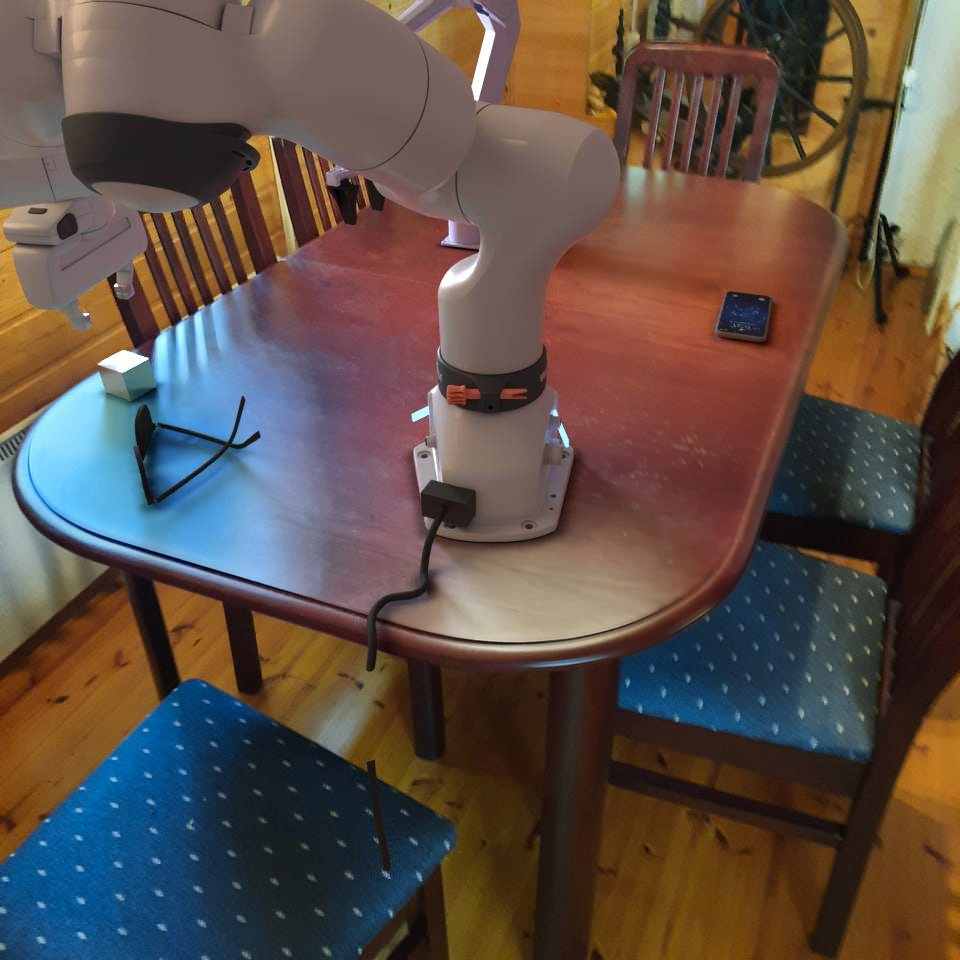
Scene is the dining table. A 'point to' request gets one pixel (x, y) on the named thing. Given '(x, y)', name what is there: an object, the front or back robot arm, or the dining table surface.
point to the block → (127, 375)
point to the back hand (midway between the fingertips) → (364, 216)
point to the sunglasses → (147, 427)
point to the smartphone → (744, 316)
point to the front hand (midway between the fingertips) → (105, 312)
